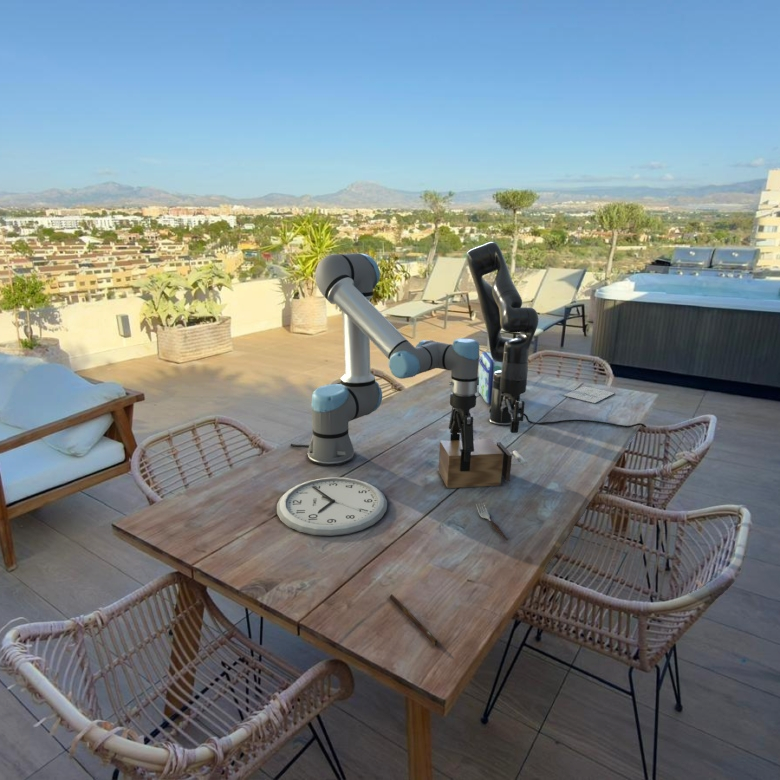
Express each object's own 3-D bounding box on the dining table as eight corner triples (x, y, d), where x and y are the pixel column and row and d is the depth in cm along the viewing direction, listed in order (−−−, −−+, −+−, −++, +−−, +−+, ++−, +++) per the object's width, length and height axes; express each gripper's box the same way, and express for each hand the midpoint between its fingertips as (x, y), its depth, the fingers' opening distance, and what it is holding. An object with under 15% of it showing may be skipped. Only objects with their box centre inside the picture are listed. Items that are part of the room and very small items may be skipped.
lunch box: (475, 390, 246) (478, 346, 240) (498, 390, 246) (501, 347, 240) (484, 408, 221) (487, 360, 215) (509, 409, 221) (513, 360, 215)
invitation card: (584, 385, 255) (614, 392, 245) (584, 386, 255) (614, 393, 245) (563, 394, 240) (594, 402, 230) (563, 395, 240) (594, 403, 230)
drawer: (515, 465, 166) (517, 441, 164) (527, 480, 157) (530, 454, 155) (452, 468, 163) (453, 444, 161) (460, 483, 154) (462, 457, 152)
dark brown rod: (389, 598, 107) (389, 594, 107) (391, 597, 107) (391, 593, 107) (435, 645, 95) (435, 641, 95) (437, 644, 96) (437, 640, 95)
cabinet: (488, 468, 166) (491, 438, 163) (500, 485, 156) (503, 453, 152) (438, 471, 164) (439, 440, 161) (447, 488, 153) (449, 456, 150)
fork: (502, 542, 127) (502, 535, 126) (474, 509, 141) (475, 503, 141) (511, 541, 127) (512, 534, 127) (483, 508, 142) (484, 502, 142)
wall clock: (392, 527, 129) (268, 531, 127) (391, 533, 130) (269, 537, 127) (383, 473, 158) (282, 475, 155) (383, 478, 158) (282, 480, 156)
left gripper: (441, 381, 162) (438, 446, 168) (462, 406, 139) (457, 480, 146) (464, 381, 163) (460, 445, 169) (489, 405, 140) (483, 479, 147)
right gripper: (493, 369, 160) (489, 419, 164) (510, 382, 146) (505, 436, 151) (517, 369, 161) (512, 418, 165) (535, 382, 147) (530, 435, 152)
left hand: (459, 462), depth 157 cm, fingers closed on cabinet, 11 cm apart
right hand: (509, 427), depth 158 cm, fingers open, 8 cm apart
